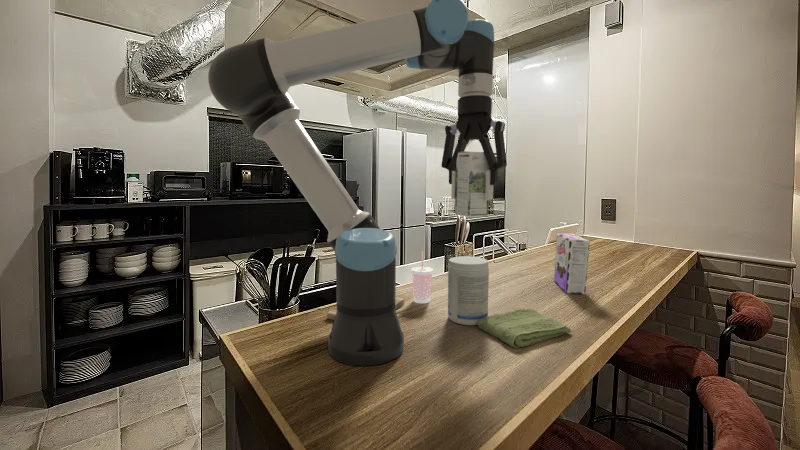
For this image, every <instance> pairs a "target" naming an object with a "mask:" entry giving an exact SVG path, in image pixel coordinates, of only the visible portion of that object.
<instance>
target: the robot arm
mask: <svg viewBox="0 0 800 450" xmlns="http://www.w3.org/2000/svg"><path fill="white" fill-rule="evenodd" d="M495 45H496V44H495V28H494V26H493V24H492V22H491V21H488V20H486V19H482V18H481V19H479V18H477V19H474V20H473V19H472V20H471V19H469V11H468V9H467V5H466V4H465V2H464V1H463V0H431V1H430V2H429V3H428V5H427V6H426V7H421V8H417V9H413V10H408V11H406V12H401V13H397V14H393V15H388V16H384V17H379V18H376V19H371V20H367V21H363V22H357V23H353V24H349V25H345V26H339V27H336V28H332V29H327V30H323V31H319V32H315V33H310V34H306V35H302V36H301V35H300V36H296V37H293V38H288V39H285V40H284V39H283V40H280V41H279V40H278V41H274V40H272V39H271V38H269V37H263V38H259V39H254V40H249V41H247V42H244V43H240V44H239V43H238V44H236V45H233V46H230V47H228V48H226V49H225V50H223V51H220V52H219V53H218V54H217V55H216V56H215V58H214V59H213V60H212V62H211V64H210V66H209V70H208V73H207V76H208V77H207V79H208V80H207V81H208V86H209V90H210V92H211V94H212V95H213V97H214V99H215V100H216V101H217V103H218V104H220V105H221V106H222V107H223V108H224V109H226V110H227V111H229V112H232V113H234V114H235V115H236V116H238V118H240V120H241V122H242V123H243V125H244V126H245V127H246V128H247V130H248V131H249V132H250V134H251V136H252V137H253V138H254V139H255V140H257V141H258V140H259V141H263V142H265V144H267V146H268V148H269V149H270V151H272V153H273V154H274V156H275V157H276V159H277V160H278V162H279V163H280V164H281V166H282V168H283V169H284V170H285V171H286V173H287V175H288V176H289V177H290V179H291V180H292V182H293V183H294V185H295V186H296V187H297V189H298V190H299V192H300V193H301V194H302V195H303V197H304V198H305V200H306V201H307V203H308V204H309V206H310V207H311V209H312V210H313V212H314V213H315V214H316V216H317V217H318V219H319V220H320V222H321V223H322V224H323V226H324V227H325V228H326V230H327V232H328V234H327V239H326V241H327V243H328V244H329V246H330V247H331V249H332V250H333V252H334V256H335V276H336V277H335V281H336V285H335V286H336V288H335V289H336V291H335V293H336V294H335V295H336V308H337V312H336V316H335V319H334V320H333V323H332V325H331V331H330V333H329V336H328V338H327V339H328V340H327V346H328V347H327V350H328V354H329V356H330V357H331V358H333V359H334V360H336V361H337V362H340V363H342V364H346V365H350V366H362V367H364V366H365V367H366V366H374V365H375V366H376V365H382V364H386V363H388V362H391V361H393V360H394V359H397V358H398V357H399V356H400V355H402V353H403V352H404V349H405V336H404V333H403V331H402V327H401V324H400V321H399V320H400V319H399V317H398V314H397V309H396V308H395V300H396V297H397V296H396V295H397V293H396V287H397V286H396V284H397V283H396V280H397V278H396V275H397V274H396V273H397V271H396V269H397V267H396V266H397V264H396V263H397V262H396V261H397V257H396V256H397V254H398V249H397V248H398V247H397V244H396V243H397V242H396V238H395V236H394V234H393V233H391V232H390V231H388V230H384V229H381V228H380V226H379V225H378V223H377V222H376V220H375V219H374V217H373V216H372V214H371V213H370V212H368V211H364V210H361V209H359V207H358V206H357V203H355V201H354V199H352V197H351V195H350V194H349V192H348V191H347V189H346V188H345V187H344V185H343V184H342V182H341V181H340V178H338V176H337V175H336V173H335V172H334V170H333V169H332V168H331V166H330V164H329V163H328V161H327V160H326V158H325V157H324V156H323V154H322V153H321V151H320V150H319V148H318V146H316V144H315V142H314V141H313V140H312V138H311V136H310V135H309V134H308V132H307V131H306V129H305V127H304V126H303V125H302V123H301V122H300V113H301V111H300V110H301V109H300V108H299V107H298V105H297V104H296V102H295V100H294V99H293V98H292V96H291V95H290V92H289V89H290V88H291V87H295V86H298V85H303V84H307V83H310V82H315V81H319V80H323V79H327V78H331V77H337V76H341V75H343V74H347V73H348V74H349V73H353V72H356V71H361V70H364V69H368V68H373V67H376V66H381V65H385V64H388V63H393V62H394V63H395V62H397V61H401V60H405V65H406V67H407V68H408V69H416V70H421V71H423V70H450V71H451V70H454V71H455V70H456V71H458V88H457V89H458V90H457V91H458V93H457V96H458V97H459V98H458V100H457V121H456V123H455V124H452V125H445V127H444V130H445V131H444V132H445V140H444V141H445V142H444V146H443V153H442V159H441V166H440V167H441V168H444V169H445V170H447V171H448V185H451V194H450V195H451V199H454V200H455V190H456V160H457V156H458V152H463V151H466V148H467V145H469V143H470V141H474V140H477V141H479V143H480V146H481V149H482V152H484V154H485V157H486V160H487V162H488V165H489V168H488V169H489V170H490V171H486V189H485V200H489V201H492V200H494V186H495V185H496V186H497V185H498V179H499V177H498V176H499V170H501V169H503V168H507V166H508V161H507V153H506V146H505V145H506V144H505V138H504V137H505V136H504V132H505V128H506V123H505V122H503V121H500V120H497V121H495V120H493V118H492V108H493V106H492V105H493V98H491V96H493V83H494V82H493V81H494V80H493V79H494V78H493V75H494V73H493V71H494V70H493V69H494V58H495V57H494V54H495V53H494V52H495V47H496V46H495ZM491 128H492V131H493V136H494V137H493V138H494V146H495V153H494V150H493V147H492V143H491V142H490V141H491V140H490V137H489V134H488V132H489V131H490V129H491ZM457 132H459V135H458V138H457V144H456V146H455V142H456V141H455V140H456V134H457ZM454 147H455V149H454ZM495 154H496V155H495Z"/></svg>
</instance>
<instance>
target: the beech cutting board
mask: <svg viewBox="0 0 800 450" xmlns="http://www.w3.org/2000/svg"><path fill="white" fill-rule="evenodd" d="M404 305H405V298H402V297H398V296H396V300H395V308H396V310H398V309H400V308H401V307H402V306H404ZM336 312H337V307H335V308H333V309H331V310H329V311H328V312H326V319H329V320H333V321H334V319H335V316H336Z"/></svg>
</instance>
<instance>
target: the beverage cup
mask: <svg viewBox="0 0 800 450" xmlns="http://www.w3.org/2000/svg"><path fill="white" fill-rule="evenodd" d="M410 271H411V273H412V275H411V276H412V294H413V302H415V303H416V304H428V303H430V302H431V293H432V280H433V273H434V268H433V267H429V266H424V251H422V250H421V266H415V267H411V270H410Z"/></svg>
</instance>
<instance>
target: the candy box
mask: <svg viewBox="0 0 800 450" xmlns="http://www.w3.org/2000/svg"><path fill="white" fill-rule="evenodd" d="M555 240H556V243H555V259H554V260H555V261H554V274H553V275H554V276H553V281H554V283H555V284H556V285H557V286H558V287H559V288H560V289H561V290H562V291H563V292H564V293H565V294H568V295H569V294H571V295H583V296H584V295H586V290H587V279H588V267H589V265H588V264H589V255H590V243H591V242H590V240H588V239H586V238H583V237H581V236H579V235H577V234H576V233H567V232H566V233H565V232H564V233H561V232H560V233H559V232H558V233H556V239H555Z"/></svg>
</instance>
